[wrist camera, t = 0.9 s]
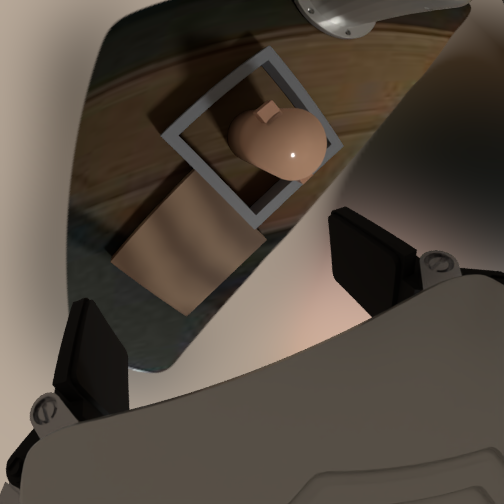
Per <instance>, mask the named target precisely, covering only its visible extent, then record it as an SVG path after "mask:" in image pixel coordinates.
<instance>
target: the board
mask: <svg viewBox="0 0 504 504" xmlns="http://www.w3.org/2000/svg"><path fill="white" fill-rule="evenodd" d="M266 240H267V239H266V238H265V237H264V236H263V235H262V234H261V233H260V232H259V231H258V230H257V229H255V230H254V229H253V228H252V227H251V226H250V225H249V224H248V223H247V221H246V220H245V219H244V218H243V217H242V216H241V215H240V214H239V213H238V212H237V211H236V210H235V209H234V208H233V207H232V206H231V205H230V204H229V203H228V202H227V201H226V200H225V199H224V198H223V197H222V196H221V195H220V194H219V193H218V192H217V191H216V190H215V189H214V188H213V187H212V186H211V185H210V184H209V183H208V182H207V181H206V180H205V179H204V178H203V177H202V176H201V175H200V174H199V173H198V172H197V171H196V170H195V169H194V168H193V169H192V170H191V171H190V172H189V173H188V174H187V175H186V176H185V177H184V178H183V179H182V180H181V181H180V182H179V183H178V184H177V185H176V186H175V187H174V189H173V190H172V191H171V192H170V193H169V194H168V195H167V196H166V197H165V198H164V199H163V200H162V201H161V202H160V203H159V204H158V205H157V206H156V207H155V208H154V210H153V211H152V212H151V213H150V214H149V215H148V216H147V217H146V218H145V219H144V220H143V222H142V223H141V224H140V225H139V226H138V227H137V228H136V229H135V231H134V232H133V233H132V234H131V235H130V236H129V237H128V239H127V240H126V241H125V242H124V243H123V244H122V245H121V247H120V248H119V249H118V250H117V251H116V253H115V254H114V255H113V256H112V258H111V263H113V264H114V265H115V266H116V267H118V268H119V269H120V270H122V271H123V272H124V273H126V274H127V275H128V276H130V277H131V278H132V279H134V280H135V281H137V282H138V283H139V284H141V285H142V286H143V287H145V288H146V289H148V290H149V291H150V292H152V293H153V294H155V295H156V296H157V297H159V298H160V299H162V300H163V301H165V302H166V303H168V304H169V305H170V306H172V307H173V308H175V309H176V310H178V311H179V312H181V313H182V314H184V315H185V316H187V315H189V314H190V313H191V312H192V311H193V310H194V309H195V308H196V307H197V306H198V305H199V304H200V303H201V302H202V301H203V300H204V299H205V298H206V297H207V296H208V295H209V294H211V293H212V292H213V291H214V290H215V289H216V288H217V287H218V286H219V285H220V284H221V283H222V282H223V281H224V280H225V279H226V278H227V277H228V276H229V275H230V274H231V273H232V272H234V271H235V270H236V269H237V268H238V267H239V266H240V265H241V264H242V263H243V262H244V261H245V260H246V259H247V258H248V257H249V256H250V255H251V254H252V253H253V252H254V251H255V250H257V249H258V248H259V247H260V246H261V245H262V244H263V243H264V242H265V241H266Z"/></svg>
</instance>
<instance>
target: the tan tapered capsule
mask: <svg viewBox="0 0 504 504" xmlns="http://www.w3.org/2000/svg"><path fill="white" fill-rule="evenodd" d="M228 143H229V146H230V148H231V150H232V152H233V153H234V154H235V155H236V156H237V157H239V158H240V159H242V160H244V161H246V162H248V163H250V164H252V165H254V166H256V167H258V168H260V169H263V170H265V171H267V172H269V173H271V174H273V175H275V176H277V177H279V178H281V179H284V180H290V181H294V180H295V181H297V182H299V183H301V184H304V183H305V182H306V181H307V180H308V179H309V178H310V177H311V176H312V175H313V174H312V173H314V172H315V171H316V170H317V169H318V167H319V166H320V165H321V163H322V161H323V159H324V157H325V153H326V148H327V139H326V134H325V130H324V128H323V126H322V124H321V123H320V121H319V120H318V119H317V118H316V117H315V116H314V115H313V114H311V113H310V112H308V111H306V110H303V109H299V108H278V107H277V105H276V104H275V103H274V102H273V101H272V100H268V101H266V102H265V103H264V104H262V105H261V106H260V107H259V108H258V109H256V110H248V111H245V112H242V113H241V114H239V115H238V116H237V117H236V118H235V119H234V120H233V121H232V123H231V124H230V127H229V130H228Z"/></svg>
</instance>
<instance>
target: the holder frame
mask: <svg viewBox="0 0 504 504" xmlns="http://www.w3.org/2000/svg"><path fill="white" fill-rule="evenodd" d="M261 65H262V66H263V68H264V69H265V70H266V71H267V72H268V74H269V75H270V76H271V77H272V78H273V80H274V81H275V82H276V83H277V84H278V86H279V87H280V88H281V89H282V91H283V92H284V93H285V94H286V96H287V97H288V98H289V100H290V101H291V102H292V104H293V105H294V106H295V107H296V108H299V109H303V110H306V111H308V112H310V113H311V114H313V115H314V116H315V117H316V118H317V119H318V120H319V121H320V123H321V124H322V126H323V128H324V130H325V134H326V139H327V148H326V153H325V157H324V159H323V161H322V163H321V165H320V166H319V167H318V169H319V168H321V167H322V166H323V165H324V164H325V163H326V162H327V161H328V160H329V159H330V158H331V157H332V156H333V155H334V154H336V153H337V152H338V151H339V150H340V149H341V148H342V147H343V144H342V143H341V141H340V140H339V138H338V137H337V135H336V133H335V132H334V130H333V129H332V127H331V126H330V124H329V123H328V121H327V120H326V118H325V117H324V116H323V114H322V113H321V111H320V110H319V108H318V107H317V106H316V104H315V103H314V101H313V100H312V99H311V97H310V96H309V94H308V93H307V92H306V90H305V89H304V88H303V86H302V85H301V84H300V82H299V81H298V80H297V78H296V77H295V76H294V75H293V73H292V72H291V71H290V69H289V68H288V67H287V66H286V64H285V63H284V62H283V61H282V60H281V58H280V57H279V56H278V55H277V53H276V52H275V51H274V50H273V49H272V48H271V46H268V47H266V48H264V49H262V50H261V51H259V52H258V53H256V54H255V55H254V56H252V57H251V58H249V59H248V60H247V61H245V62H244V63H243V64H241V65H240V66H239V67H237V68H236V69H235V70H234V71H232V72H231V73H230V74H228V75H227V76H226V77H225V78H223V79H222V80H221V81H220V82H218V83H217V84H216V85H215V86H214V87H212V88H211V89H210V90H209V91H208V92H206V93H205V94H204V95H203V96H202V97H201V98H199V99H198V100H197V101H196V102H195V103H194V104H193V105H191V106H190V107H189V108H188V109H187V110H186V111H185V112H184V113H183V114H181V115H180V116H179V117H178V118H177V119H176V120H175V121H174V122H173V123H172V124H171V125H170V126H169V127H168V128H167V129H166V130H165V131H164V132H163V133H162V134H160V135H161V137H162V138H163V139H164V140H165V141H166V142H167V143H168V144H169V145H171V146H172V147H173V148H174V149H175V150H176V151H177V152H178V153H179V154H180V155H181V156H182V157H183V158H184V159H185V160H186V161H187V162H188V163H189V164H190V165H191V166H192V167H193V168H194V169H195V170H196V171H197V172H198V173H199V174H200V175H201V176H202V177H203V178H204V179H205V180H206V181H207V182H208V183H209V184H210V185H211V186H212V187H213V188H214V189H215V190H216V191H217V192H218V193H219V194H220V195H221V196H222V197H223V198H224V199H225V200H226V201H227V202H228V203H229V204H230V205H231V206H232V207H233V208H234V209H235V210H236V211H237V212H238V213H239V214H240V215H241V216H242V217H243V218H244V219H245V220H246V221H247V223H248V224H249V225H250V226H251V227H252V228H253V229H254V230H255V229H256V228H257V227H258V226H259V225H260V224H262V223H263V222H264V221H265V220H266V219H267V218H268V217H269V216H270V215H271V214H272V213H273V212H274V211H275V210H276V209H277V208H278V207H279V206H280V205H281V204H282V203H284V202H285V201H286V200H287V199H288V198H289V197H290V196H291V195H292V194H293V193H294V192H295V191H296V190H297V189H298V188H299V187H300V186H301V185H303V184H301V183H299V182H297V181H295V180H294V181H290V180H284V179H280V180H279V181H278V182H277V183H275V184H274V185H273V186H272V187H271V188H270V189H269V190H268V191H267V192H266V193H265V194H264V195H263V196H262V197H261V198H260V199H259V200H257V201H256V202H255V203H254V204H253V205H252V206H251V207H250V208H248V206H247V205H246V204H245V203H244V202H243V201H242V200H241V199H240V198H239V197H238V196H237V195H236V194H235V193H234V192H233V191H232V190H231V189H230V188H229V187H228V186H227V185H226V183H225V182H224V181H223V180H222V179H221V178H220V177H219V176H218V175H217V174H216V173H215V172H214V171H213V170H212V169H211V168H210V167H209V166H208V165H207V164H206V163H205V162H204V161H203V160H202V159H201V158H200V157H199V156H198V155H197V154H196V153H195V152H194V151H193V150H192V149H191V148H190V147H189V146H188V145H187V144H186V143H185V142H184V141H183V140H182V139H181V138H180V137H179V136H178V135H179V134H180V133H181V132H182V131H184V130H185V129H186V128H187V127H188V126H189V125H190V124H191V123H192V122H193V121H194V120H195V119H197V118H198V117H199V116H200V115H201V114H202V113H203V112H204V111H205V110H207V109H208V108H209V107H210V106H211V105H212V104H213V103H215V102H216V101H217V100H218V99H219V98H221V97H222V96H223V95H224V94H225V93H226V92H228V91H229V90H230V89H231V88H233V87H234V86H235V85H236V84H238V83H239V82H240V81H241V80H243V79H244V78H245V77H246V76H248V75H249V74H250V73H252V72H253V71H254V70H256V69H257V68H258V67H260V66H261ZM318 169H317V170H318ZM317 170H316V171H317ZM316 171H315V172H316ZM315 172H314V173H315ZM314 173H312V174H314Z"/></svg>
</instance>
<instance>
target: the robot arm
mask: <svg viewBox="0 0 504 504" xmlns="http://www.w3.org/2000/svg"><path fill="white" fill-rule="evenodd" d="M471 1H472V0H294V2H295V4H296V5H297V7H298V9H299V11H300V12H301V13H302V14H303V16H304V17H305V18H306V19H307V20H308V21H309V22H310V23H311V24H312V25H314V26H315V27H316V28H318V29H319V30H321V31H322V32H324V33H326V34H328V35H330V36H333V37H336V38H341V39H354V38H359V37H362V36H364V35H366V34H367V33H369V32H370V31H371V30H372V28H373V27H374V25H375V23H376V21H379V20H383V19H388V18H392V17H397V16H402V15H407V14H413V13H418V12H425V11H431V10H439V9H446V8H455V7H461V6H463V5H466V4H468V3H469V2H471ZM502 1H503V3H504V0H502ZM328 223H329V234H330V245H331V257H332V271H333V276H334V278H335V280H336V281H337V282H338V283H339V284H340V285H341V286H342V287H343V288H344V289H345V290H346V291H347V292H348V293H349V294H350V295H351V296H352V297H353V298H354V299H355V300H356V301H357V302H358V303H359V304H360V305H361V306H362V307H363V308H364V309H365V310H366V311H367V312H368V314H369V315H370V316H371V317H372V318H370V319H368V320H366V321H364V322H362V323H360V324H358V325H356V326H354V327H352V328H350V329H348V330H347V331H344V332H342V333H340V334H338V335H336V336H334V337H331V338H330V339H327V340H325V341H323V342H321V343H319V344H316V345H314V346H312V347H310V348H307V349H305V350H303V351H300V352H298V353H296V354H294V355H291V356H289V357H286V358H284V359H282V360H279V361H277V362H274V363H272V364H269V365H267V366H264V367H262V368H259V369H256V370H254V371H251V372H249V373H246V374H243V375H241V376H238V377H235V378H232V379H230V380H227V381H224V382H221V383H218V384H215V385H212V386H209V387H206V388H204V389H200V390H197V391H194V392H191V393H188V394H185V395H181V396H178V397H175V398H171V399H168V400H164V401H161V402H157V403H154V404H150V405H147V406H142V407H139V408H135V409H131V410H129V393H128V392H129V390H128V355H127V352H126V349H125V348H124V346H123V345H122V344H121V342H120V341H119V339H118V338H117V336H116V335H115V333H114V332H113V330H112V329H111V327H110V326H109V324H108V323H107V321H106V320H105V318H104V316H103V315H102V313H101V312H100V310H99V308H98V307H97V305H96V303H95V302H94V301H93V300H89V299H88V298H84V299H81V300H78V301H76V302H73V304H72V307H71V311H70V314H69V317H68V321H67V325H66V328H65V332H64V335H63V339H62V343H61V347H60V351H59V355H58V360H57V364H56V369H55V374H54V379H53V386H54V387H55V392H54V393H45V394H43V395H41V396H40V397H39V398H38V399H37V400H36V401H35V402H34V404H33V406H32V408H31V412H30V421H31V423H32V425H33V427H34V429H33V430H32V431H31V432H30V433H29V435H28V436H27V437H26V438H25V439H24V441H23V442H22V443H21V444H20V445H19V447H18V448H17V449H16V450H15V452H14V453H13V454H12V455H11V457H10V458H9V460H8V461H7V466H6V474H7V477H8V480H9V484H8V483H6V482H5V484H4V486H3V489H2V491H1V494H0V504H504V273H502V272H499V271H489V270H478V269H465V268H460V267H459V264H458V262H457V260H456V259H455V258H454V257H453V256H452V255H451V254H449V253H446V252H443V251H437V250H435V251H429V252H426V253H424V254H423V255H422V256H421V257H420V258H419V257H417V256H416V253H417V252H416V251H417V250H416V249H415V248H413V247H412V246H410V245H408V244H407V243H405V242H404V241H402V240H401V239H399V238H397V237H396V236H394V235H393V234H391V233H390V232H388V231H386V230H385V229H383V228H381V227H380V226H378V225H376V224H375V223H373V222H372V221H370V220H368V219H367V218H365V217H363V216H361V215H359V214H358V213H356V212H355V211H353V210H351V209H349V208H347V207H343V208H339V209H336V210H333V211H332V212H331V215H330V216H329V217H328Z"/></svg>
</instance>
